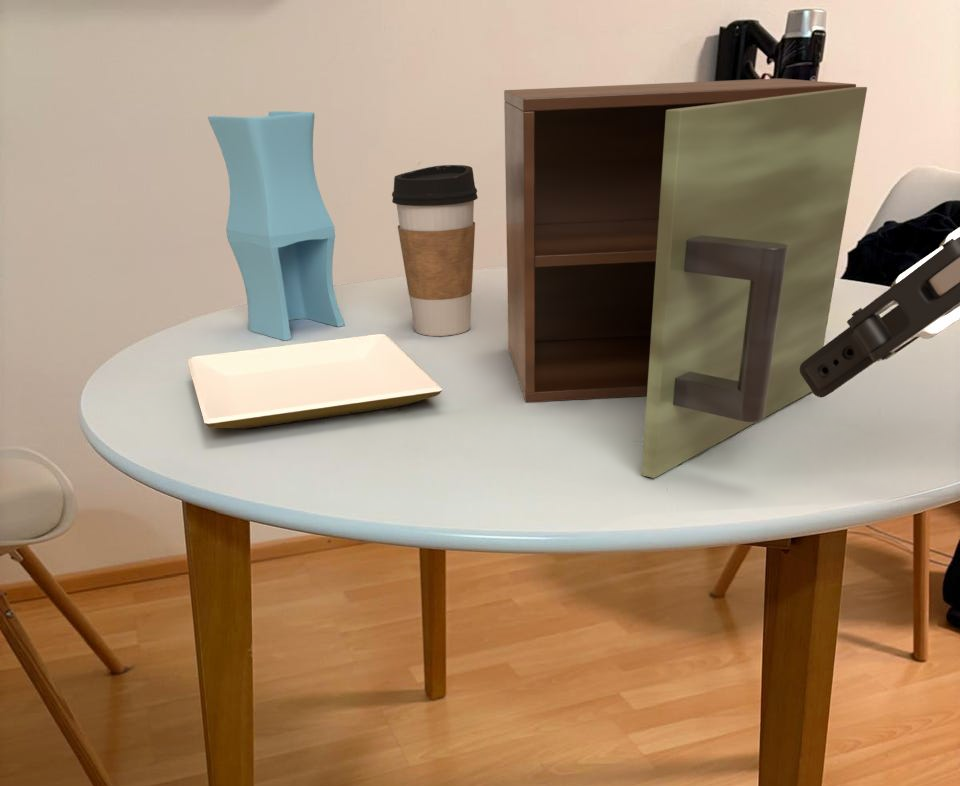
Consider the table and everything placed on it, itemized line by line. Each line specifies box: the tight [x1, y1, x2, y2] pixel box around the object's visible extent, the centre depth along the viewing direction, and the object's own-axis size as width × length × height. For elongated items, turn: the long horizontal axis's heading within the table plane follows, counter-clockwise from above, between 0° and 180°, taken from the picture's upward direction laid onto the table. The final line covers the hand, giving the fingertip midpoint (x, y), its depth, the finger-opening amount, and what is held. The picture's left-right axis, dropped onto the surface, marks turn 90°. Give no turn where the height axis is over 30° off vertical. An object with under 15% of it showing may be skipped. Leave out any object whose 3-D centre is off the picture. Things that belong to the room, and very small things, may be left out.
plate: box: [186, 333, 443, 430], centre depth 78 cm, size 19×19×2 cm
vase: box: [207, 110, 346, 342], centre depth 93 cm, size 8×8×20 cm
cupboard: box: [503, 78, 857, 403], centre depth 76 cm, size 16×24×22 cm
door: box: [641, 86, 868, 479], centre depth 60 cm, size 7×24×21 cm, turn 137°
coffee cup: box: [391, 164, 479, 337], centre depth 92 cm, size 8×8×15 cm
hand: (843, 363), depth 52 cm, fingers open, 8 cm apart
